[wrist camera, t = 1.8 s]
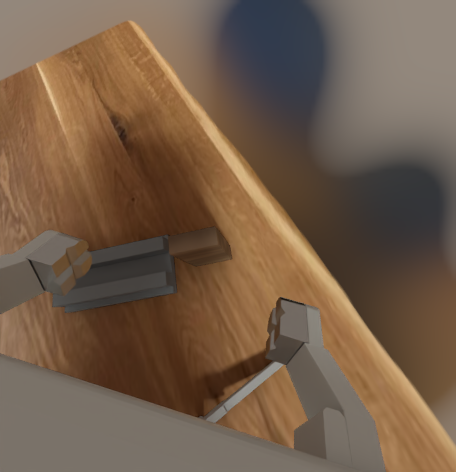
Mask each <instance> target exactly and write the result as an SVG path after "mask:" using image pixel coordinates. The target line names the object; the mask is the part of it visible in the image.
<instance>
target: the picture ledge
mask: <svg viewBox="0 0 456 472" xmlns="http://www.w3.org/2000/svg"><path fill="white" fill-rule="evenodd" d="M168 236H170V235H164V236H159V237H155V238H150V239H146V240H141V241H136V242H132V243H127V244H123V245H118V246H114V247H109V248H104V249H100V250H95V251H91V252H89V253H90V254H91V257H92V264H91V267H90V269H89V271H88V272H87V273H86V274H85V275H84V276H82V277H80V278H77V281H76V285H75V286H74V287H73V288H72V289H71V290H70V291H69V292H68V293H67V294H66V295H65V296H61V295H57V294H54V293H53V306H52V307H65V313H68V312H76V311H82V310H87V309H92V308H98V307H103V306H109V305H114V304H119V303H125V302H130V301H135V300H141V299H146V298H152V297H157V296H162V295H168V294H173V293H177V287H176V276H175V266H174V256H172V255H170V254H169V243H168Z"/></svg>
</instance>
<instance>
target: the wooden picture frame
mask: <svg viewBox="0 0 456 472" xmlns="http://www.w3.org/2000/svg"><path fill="white" fill-rule="evenodd" d="M168 243H169V254H170V255H172V256H174V257H176V258H179V259H181V260H183V261H185V262H187V263H189V264H192V265H194V266H201V265H206V264H211V263H216V262H221V261H226V260H231V259H232V255H231V249H230V245H229V244H228V242H227V241H226V240H225V239H224V237H223V236H222V235H221V233H220V232H219V231H218V229H217V228H216V227H215V226H214V227H210V228H205V229H200V230H196V231H191V232H187V233H182V234H177V235H173V236H168Z"/></svg>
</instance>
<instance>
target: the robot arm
mask: <svg viewBox="0 0 456 472" xmlns="http://www.w3.org/2000/svg"><path fill="white" fill-rule="evenodd" d="M88 248H89V245H88V242H87V241H85V240H82V239H79V238H76V237H73V236H70V235H67V234H64V233H60V232H57V231H54V230H47V231H45V232H43V233H42V234H40V235H39V236H38V237H36V238H35V239H33V240H32V241H31V242H29V243H28V244H26V245H25V246H24V247H22V248H21V249H19V250H18V251H16V252H15V253H14V254H5V255H2V256H0V314H2V313H4V312H6V311H8V310H10V309H12V308H14V307H16V306H18V305H20V304H22V303H24V302H26V301H28V300H30V299H32V298H34V297H36V296H38V295H40V294H42V293H44V291H47V292H50V293H54V294H57V295H61V296H65V295H66V294H67V293H68V292H69V291H70V290H71V289H72V288H73V287H74V286H75V285H76V281H77V278H80V277H82V276H84V275H85V274H86V273H87V272H88V271H89V269H90V267H91V264H92V257H91V254H90V253H89V252H88V251H87V249H88ZM267 332H268V333H269V335H270V336H269V338H268V339H267V341H266V351H265V358H266V359H269V360H272V361H275V362H278V363H281V364H284V365H286V368H287V370H288V373H289V375H290V377H291V380H292V382H293V385H294V387H295V389H296V392H297V394H298V397H299V399H300V401H301V404H302V406H303V409H304V411H305V414H306V416H307V418H308V421H306V422H305V423H303V424H302V425H301V426H299V427H298V428H296V429H295V430H294V449H292V448H289V447H286V446H283V445H280V444H277V443H274V442H271V441H268V440H265V439H262V438H259V437H255V436H252V435H249V434H246V433H243V432H240V431H237V430H234V429H231V428H228V427H225V426H222V425H219V424H216V423H212V422H209V421H206V420H203V419H200V418H197V417H194V416H191V415H188V414H185V413H182V412H179V411H176V410H172V409H169V408H166V407H163V406H160V405H157V404H154V403H151V402H148V401H145V400H142V399H139V398H136V397H133V396H129V395H126V394H123V393H120V392H117V391H114V390H111V389H108V388H105V387H102V386H99V385H96V384H93V383H90V382H86V381H83V380H80V379H77V378H74V377H71V376H68V375H65V374H62V373H59V372H56V371H53V370H50V369H47V368H43V367H40V366H37V365H34V364H31V363H28V362H25V361H22V360H19V359H16V358H13V357H10V356H7V355H4V354H0V472H386V470H385V465H384V461H383V456H382V452H381V447H380V443H379V439H378V434H377V430H376V425H375V421H374V420H373V418H372V416H371V415H370V413H369V412H368V410H367V409H366V407H365V406H364V404H363V403H362V401H361V400H360V398H359V397H358V395H357V394H356V392H355V391H354V389H353V388H352V386H351V384H350V383H349V381H348V380H347V378H346V377H345V375H344V374H343V372H342V371H341V369H340V368H339V366H338V365H337V363H336V362H335V360H334V359H333V357H332V356H331V354H330V352H329V351H328V350H327V349H324V346H323V338H322V329H321V320H320V311H319V309H318V308H317V307H313V306H310V305H306V304H304V303H300V302H296V301H293V300H289V299H286V298H282V297H280V298H278V300H277V302H276V308H273V310H272V312H271V314H270V317H269V321H268V328H267Z"/></svg>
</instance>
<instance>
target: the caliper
mask: <svg viewBox="0 0 456 472" xmlns="http://www.w3.org/2000/svg"><path fill="white" fill-rule="evenodd" d="M283 365H284V364H281V363H278V362H275V361H272V362H271V363H270V364H269V365H267V366H266V367H265V368H264V369H263V370H261V371H260V372H259V373H258V374H257V375H255V376H254V377H253V378H252V379H250V380H249V381H248V382H247V383H246V384H244V385H243V386H242V387H241V388H239V389H238V390H237V391H236V392H235V393H233V394H232V395H231V396H230V397H228V398H227V399H226V400H225V401H222V402H221V403H220V404H219V405H217V406H216V407H215V408H213V409H212V410H211V411H210V412H209V413H208V414H207V415H206V416H205V417H202V416H200V417H198V418H200V419H203V420H206V421H209V422H212V423H215V422H217V421H218V420H219V419H220V418H221V417H223V416H224V415H225V414H226V413H227V412H228V411H229V410H230V409H231V408H232V407H234V406H235V405H236V404H237V403H238V402H240V401H241V400H242V399H243V398H244V397H246V396H247V395H248V394H249V393H250V392H252V391H253V390H254V389H255V388H256V387H258V386H259V385H260V384H261V383H262V382H264V381H265V380H266V379H267V378H268V377H270V376H271V375H272V374H273V373H274V372H276V371H277V370H278V369H279V368H280V367H282V366H283Z"/></svg>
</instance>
